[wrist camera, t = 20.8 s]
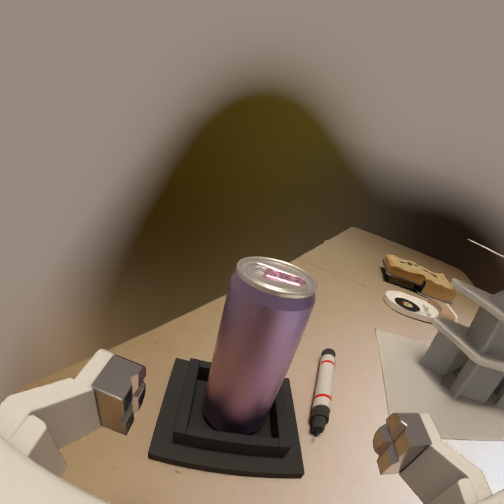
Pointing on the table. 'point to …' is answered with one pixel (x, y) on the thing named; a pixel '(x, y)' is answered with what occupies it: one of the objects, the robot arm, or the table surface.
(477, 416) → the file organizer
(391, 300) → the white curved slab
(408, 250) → the table surface
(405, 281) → the book
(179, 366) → the dock pad
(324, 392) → the marker
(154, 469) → the table surface
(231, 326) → the beverage can
